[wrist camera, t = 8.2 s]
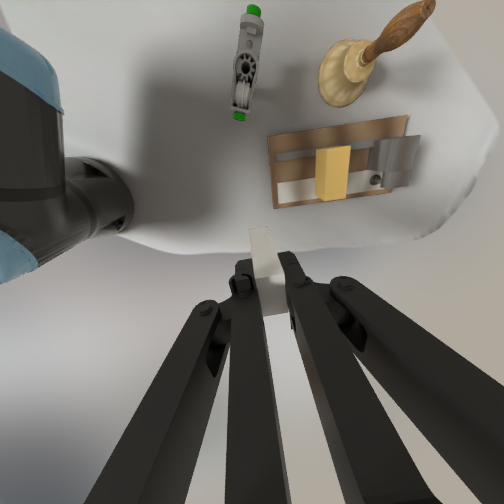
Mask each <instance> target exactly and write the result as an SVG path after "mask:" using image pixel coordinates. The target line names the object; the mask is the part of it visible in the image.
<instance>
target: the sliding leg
mask: <svg viewBox="0 0 504 504" xmlns="http://www.w3.org/2000/svg"><path fill="white" fill-rule="evenodd" d="M350 150H351V146H335V147H329V148H322V149H316V168H315V196H317V197H318V198H320V199H322V200H323V201H330V200H337V199H344V198H346V189H347V180H348V170H349V160H350Z"/></svg>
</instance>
